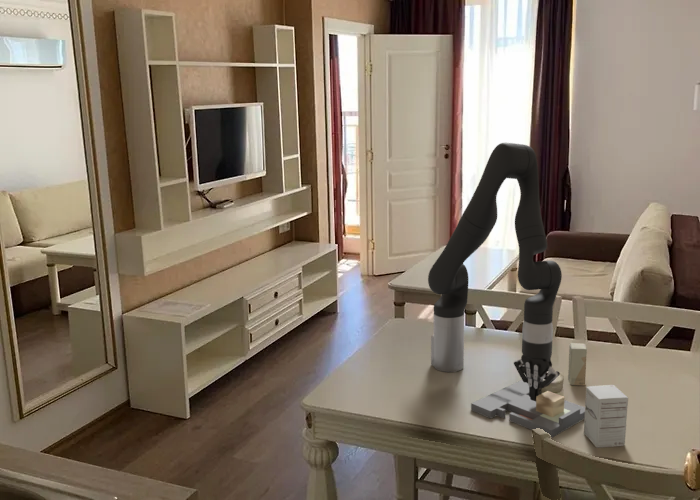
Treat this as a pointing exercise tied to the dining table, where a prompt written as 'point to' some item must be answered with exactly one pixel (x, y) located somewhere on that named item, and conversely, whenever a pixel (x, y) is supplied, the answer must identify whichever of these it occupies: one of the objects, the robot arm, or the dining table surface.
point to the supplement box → (605, 415)
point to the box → (577, 364)
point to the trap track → (527, 409)
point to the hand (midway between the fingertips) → (534, 399)
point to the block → (550, 403)
